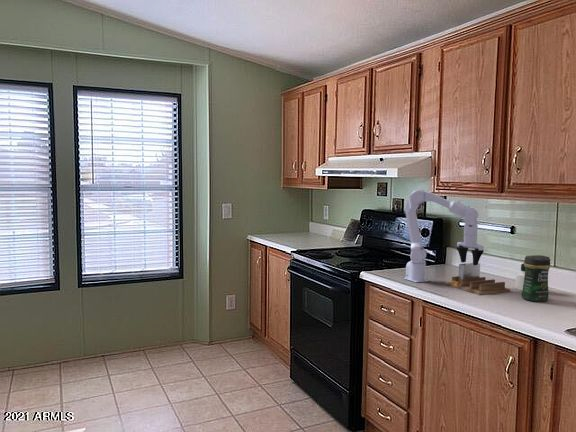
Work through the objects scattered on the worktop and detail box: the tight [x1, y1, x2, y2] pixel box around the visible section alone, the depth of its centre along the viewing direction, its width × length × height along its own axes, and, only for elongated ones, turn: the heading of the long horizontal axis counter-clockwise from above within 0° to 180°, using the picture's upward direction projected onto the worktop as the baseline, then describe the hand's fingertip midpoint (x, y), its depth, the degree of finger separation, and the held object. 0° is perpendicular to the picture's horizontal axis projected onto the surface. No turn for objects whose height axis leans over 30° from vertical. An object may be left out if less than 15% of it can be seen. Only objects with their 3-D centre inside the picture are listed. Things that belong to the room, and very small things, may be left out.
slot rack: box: [446, 276, 511, 295], centre depth 220 cm, size 20×18×4 cm
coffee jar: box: [521, 254, 551, 303], centre depth 200 cm, size 10×8×19 cm
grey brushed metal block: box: [458, 262, 481, 284], centre depth 225 cm, size 3×10×9 cm, turn 113°
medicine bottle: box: [514, 262, 525, 292], centre depth 217 cm, size 7×7×12 cm
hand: (469, 263), depth 225 cm, fingers open, 7 cm apart
